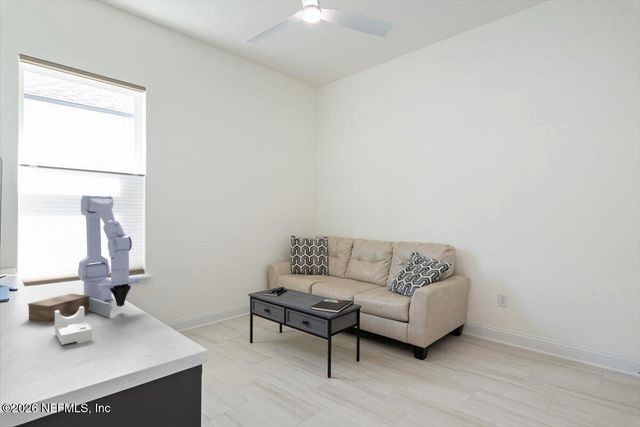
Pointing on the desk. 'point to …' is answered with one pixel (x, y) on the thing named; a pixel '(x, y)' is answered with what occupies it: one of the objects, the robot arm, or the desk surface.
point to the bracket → (72, 327)
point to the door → (99, 307)
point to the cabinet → (57, 307)
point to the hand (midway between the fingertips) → (120, 305)
